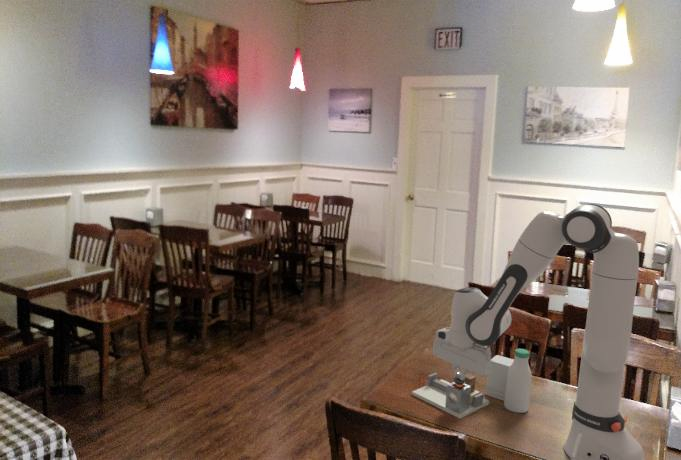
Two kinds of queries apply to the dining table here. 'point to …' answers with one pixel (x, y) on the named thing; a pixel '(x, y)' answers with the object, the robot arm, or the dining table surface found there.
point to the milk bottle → (518, 383)
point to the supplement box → (498, 377)
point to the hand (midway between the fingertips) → (459, 378)
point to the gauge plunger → (459, 383)
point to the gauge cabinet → (458, 398)
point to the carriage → (471, 382)
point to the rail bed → (437, 396)
